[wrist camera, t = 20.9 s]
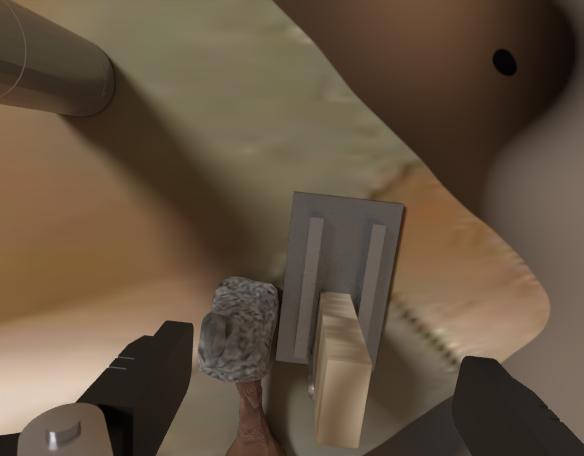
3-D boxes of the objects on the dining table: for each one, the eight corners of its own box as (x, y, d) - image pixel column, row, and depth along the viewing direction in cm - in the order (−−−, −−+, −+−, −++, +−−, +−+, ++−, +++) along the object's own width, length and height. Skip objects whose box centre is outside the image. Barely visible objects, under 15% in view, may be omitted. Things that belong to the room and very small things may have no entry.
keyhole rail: (276, 357, 51) (270, 395, 43) (294, 191, 45) (292, 199, 38) (372, 369, 50) (385, 408, 43) (401, 203, 45) (422, 214, 37)
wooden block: (312, 350, 49) (316, 443, 33) (320, 291, 47) (327, 359, 32) (340, 354, 49) (357, 448, 33) (349, 294, 47) (372, 364, 31)
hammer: (222, 433, 57) (196, 270, 47) (284, 421, 59) (272, 260, 48) (223, 538, 44) (186, 341, 33) (303, 518, 45) (292, 324, 35)
